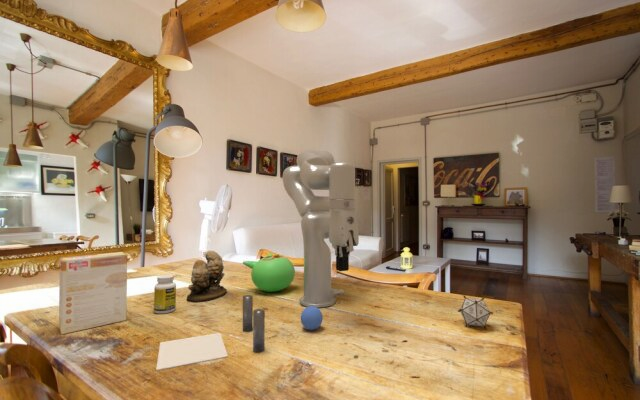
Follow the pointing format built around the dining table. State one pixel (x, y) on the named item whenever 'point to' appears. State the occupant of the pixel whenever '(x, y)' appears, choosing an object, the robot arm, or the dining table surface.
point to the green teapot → (271, 272)
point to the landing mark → (190, 351)
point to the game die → (475, 312)
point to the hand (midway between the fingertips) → (342, 270)
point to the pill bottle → (165, 294)
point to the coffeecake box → (92, 291)
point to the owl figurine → (207, 279)
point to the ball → (311, 317)
